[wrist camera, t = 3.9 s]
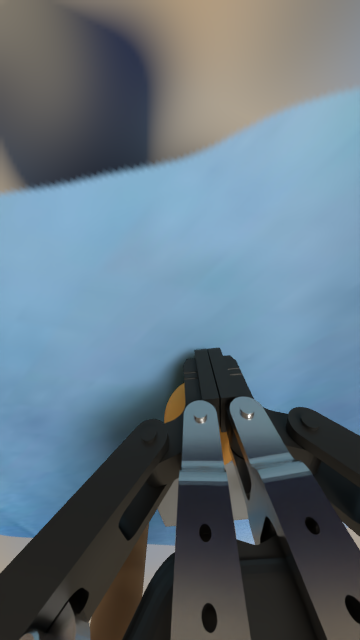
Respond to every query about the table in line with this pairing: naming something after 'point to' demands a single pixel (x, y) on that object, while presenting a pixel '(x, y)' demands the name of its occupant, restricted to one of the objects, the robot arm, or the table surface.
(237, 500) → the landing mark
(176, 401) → the ball
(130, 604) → the post
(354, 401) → the table surface
